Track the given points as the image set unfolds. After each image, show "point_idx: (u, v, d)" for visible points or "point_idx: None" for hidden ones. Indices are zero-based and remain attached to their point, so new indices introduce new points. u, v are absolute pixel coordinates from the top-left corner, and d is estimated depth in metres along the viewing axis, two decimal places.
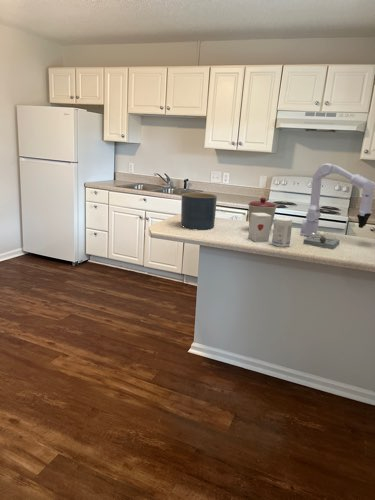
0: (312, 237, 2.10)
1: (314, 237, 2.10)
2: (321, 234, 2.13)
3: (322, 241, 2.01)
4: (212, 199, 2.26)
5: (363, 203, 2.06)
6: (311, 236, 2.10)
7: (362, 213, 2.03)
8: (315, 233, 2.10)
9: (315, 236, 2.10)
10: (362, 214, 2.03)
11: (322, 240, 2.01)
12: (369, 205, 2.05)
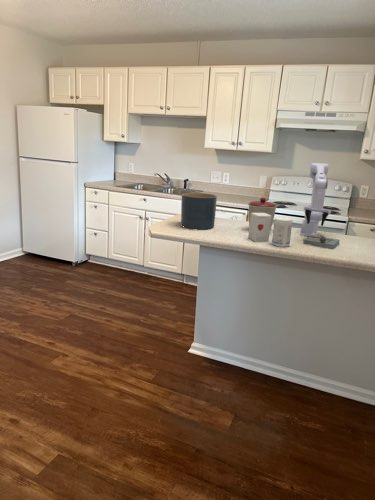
0: (312, 237, 2.10)
1: (314, 237, 2.10)
2: (321, 234, 2.13)
3: (322, 241, 2.01)
4: (212, 199, 2.26)
5: None
6: (311, 236, 2.10)
7: None
8: (315, 233, 2.10)
9: (315, 236, 2.10)
10: None
11: (322, 240, 2.01)
12: (313, 202, 2.05)
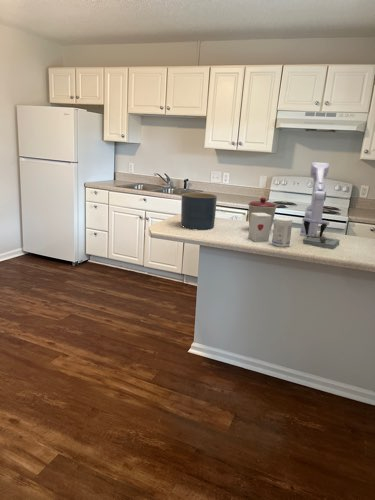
0: (312, 237, 2.10)
1: (314, 237, 2.10)
2: None
3: (322, 241, 2.01)
4: (212, 199, 2.26)
5: None
6: (311, 236, 2.10)
7: None
8: (315, 233, 2.10)
9: (315, 236, 2.10)
10: None
11: (322, 240, 2.01)
12: (312, 213, 2.07)
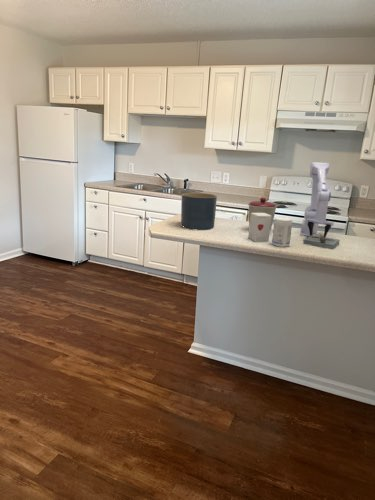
0: (312, 237, 2.10)
1: None
2: (321, 234, 2.13)
3: (322, 241, 2.01)
4: (212, 199, 2.26)
5: None
6: (312, 236, 2.10)
7: None
8: None
9: None
10: None
11: (322, 240, 2.01)
12: (316, 214, 2.05)
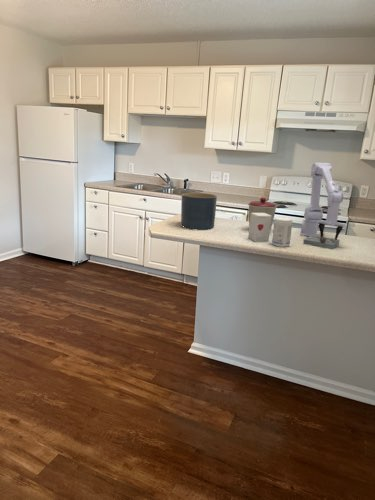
0: None
1: None
2: None
3: (322, 241, 2.01)
4: (212, 199, 2.26)
5: None
6: None
7: None
8: None
9: None
10: None
11: (322, 240, 2.01)
12: (327, 215, 2.02)
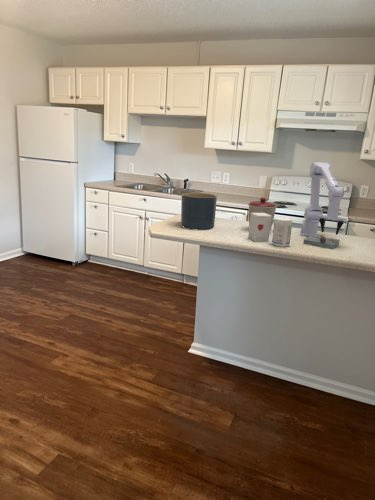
0: None
1: None
2: (321, 234, 2.13)
3: (322, 241, 2.01)
4: (212, 199, 2.26)
5: None
6: None
7: None
8: None
9: (328, 240, 2.06)
10: None
11: (322, 240, 2.01)
12: (328, 210, 2.01)
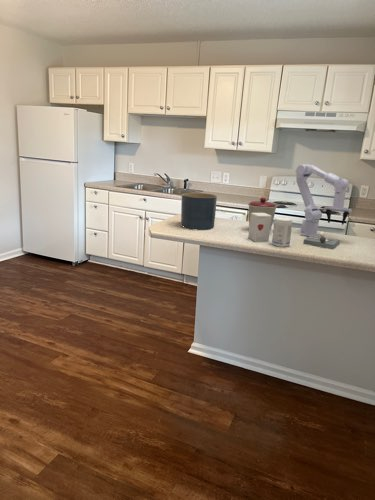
0: None
1: None
2: (321, 234, 2.13)
3: (322, 241, 2.01)
4: (212, 199, 2.26)
5: None
6: None
7: None
8: None
9: None
10: None
11: (322, 240, 2.01)
12: (334, 201, 2.11)
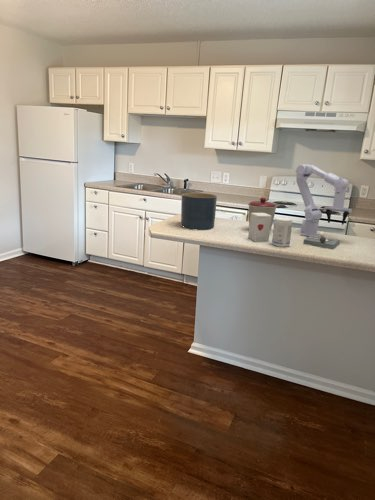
0: None
1: None
2: (321, 234, 2.13)
3: (322, 241, 2.01)
4: (212, 199, 2.26)
5: None
6: None
7: None
8: None
9: (328, 240, 2.06)
10: None
11: (322, 240, 2.01)
12: (334, 201, 2.11)
